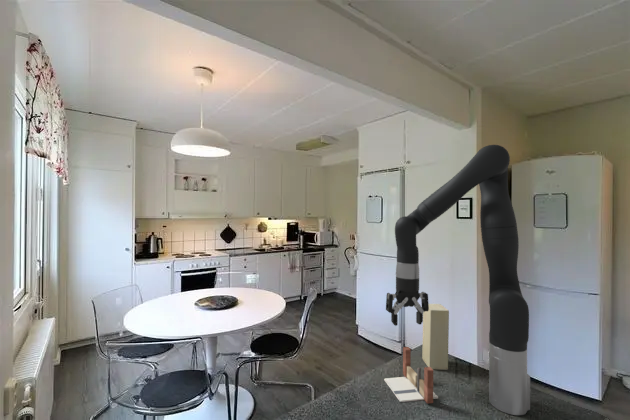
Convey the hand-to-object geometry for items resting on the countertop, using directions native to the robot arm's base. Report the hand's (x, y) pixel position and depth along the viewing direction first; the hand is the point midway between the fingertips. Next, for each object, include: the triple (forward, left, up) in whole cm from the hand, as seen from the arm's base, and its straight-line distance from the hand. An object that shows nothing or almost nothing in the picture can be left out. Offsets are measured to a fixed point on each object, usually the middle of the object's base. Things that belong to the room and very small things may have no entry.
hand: (407, 324), depth 101 cm
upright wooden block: (-15, -7, -18) cm, 24 cm away
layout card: (+2, +6, -18) cm, 19 cm away
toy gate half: (0, +3, -17) cm, 17 cm away
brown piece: (0, +11, -18) cm, 21 cm away
